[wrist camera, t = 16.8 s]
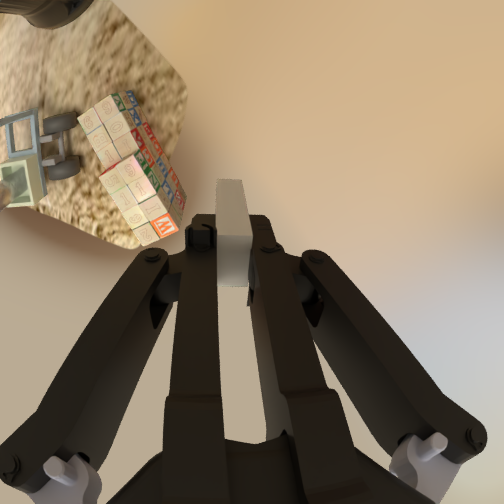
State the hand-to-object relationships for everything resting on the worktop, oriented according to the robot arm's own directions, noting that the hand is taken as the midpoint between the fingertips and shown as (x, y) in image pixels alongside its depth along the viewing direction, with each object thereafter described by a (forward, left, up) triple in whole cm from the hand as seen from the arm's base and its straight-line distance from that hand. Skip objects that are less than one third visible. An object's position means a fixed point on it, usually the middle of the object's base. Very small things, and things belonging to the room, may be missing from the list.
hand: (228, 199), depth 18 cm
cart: (+1, -31, -30) cm, 43 cm away
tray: (+5, -34, -23) cm, 41 cm away
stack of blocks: (+5, -13, -31) cm, 34 cm away
